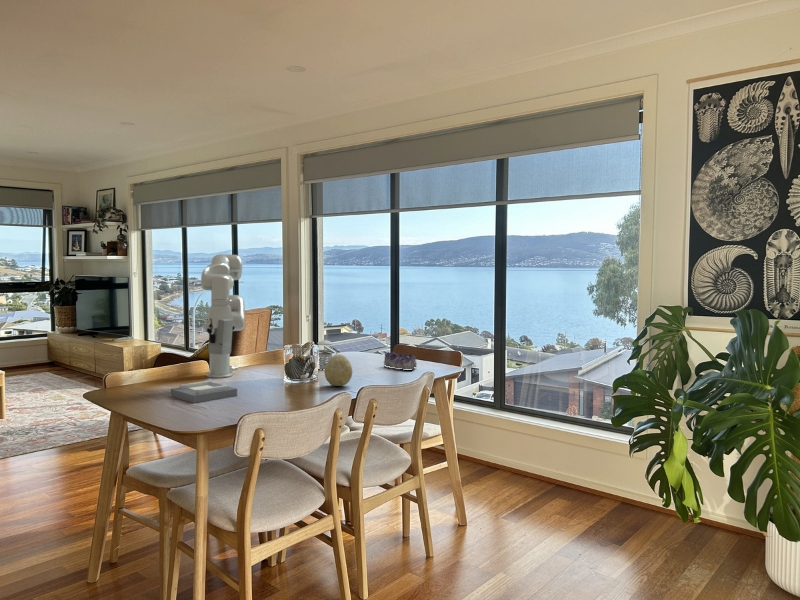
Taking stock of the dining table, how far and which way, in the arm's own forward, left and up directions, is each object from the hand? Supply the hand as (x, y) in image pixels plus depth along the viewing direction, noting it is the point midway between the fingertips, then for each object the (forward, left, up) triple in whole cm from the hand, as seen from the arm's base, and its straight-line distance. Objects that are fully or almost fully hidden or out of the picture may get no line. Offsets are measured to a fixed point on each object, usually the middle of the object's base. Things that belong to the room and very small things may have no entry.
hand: (220, 341), depth 278 cm
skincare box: (0, 0, -5) cm, 5 cm away
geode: (-97, +23, -21) cm, 102 cm away
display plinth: (+16, +13, -20) cm, 29 cm away
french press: (-67, -3, -20) cm, 70 cm away
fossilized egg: (-39, +36, -20) cm, 57 cm away
